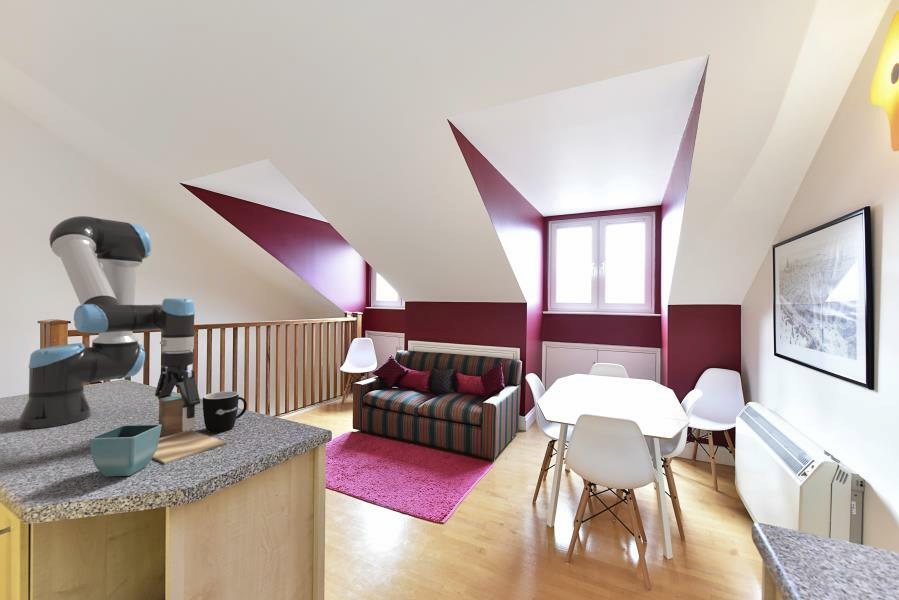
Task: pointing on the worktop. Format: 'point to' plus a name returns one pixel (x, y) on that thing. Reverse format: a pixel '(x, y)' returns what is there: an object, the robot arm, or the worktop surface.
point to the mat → (184, 446)
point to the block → (171, 415)
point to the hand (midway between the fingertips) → (176, 425)
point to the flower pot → (125, 449)
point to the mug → (221, 410)
